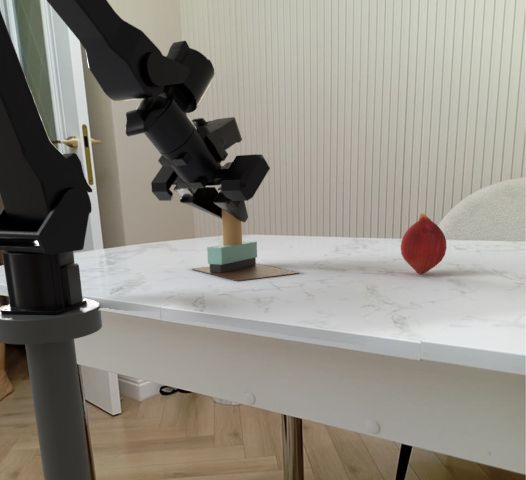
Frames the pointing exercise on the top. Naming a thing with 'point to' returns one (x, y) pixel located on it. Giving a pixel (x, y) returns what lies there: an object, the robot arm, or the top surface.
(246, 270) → the brown flat rectangular panel
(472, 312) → the top surface
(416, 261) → the onion
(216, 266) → the wiper
